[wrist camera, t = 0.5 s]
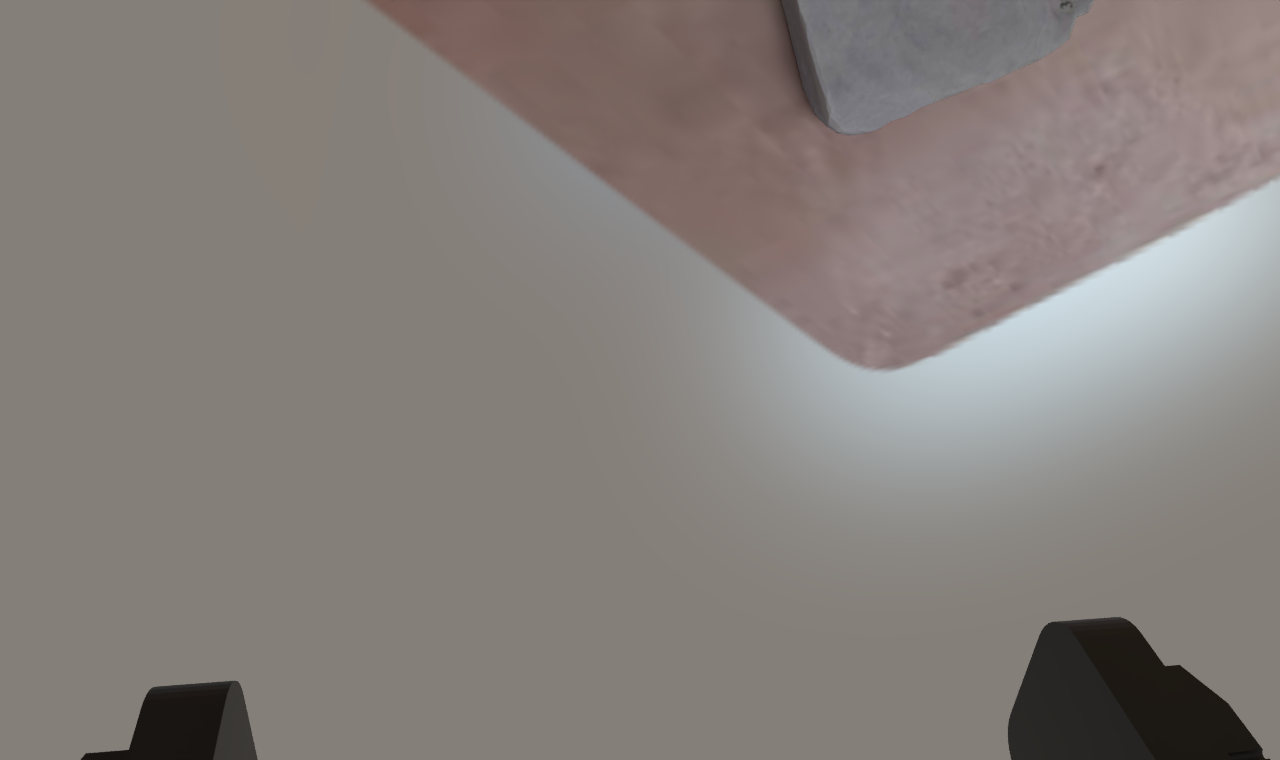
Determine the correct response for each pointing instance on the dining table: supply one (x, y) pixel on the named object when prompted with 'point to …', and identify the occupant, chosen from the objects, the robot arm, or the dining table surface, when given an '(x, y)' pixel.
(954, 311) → the dining table surface
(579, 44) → the dining table surface
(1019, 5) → the stone block
